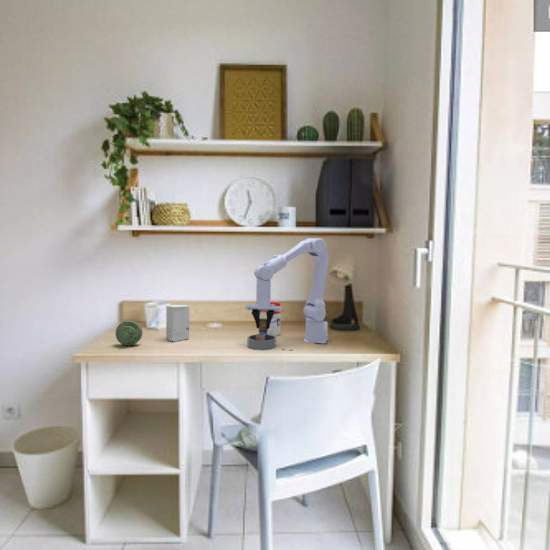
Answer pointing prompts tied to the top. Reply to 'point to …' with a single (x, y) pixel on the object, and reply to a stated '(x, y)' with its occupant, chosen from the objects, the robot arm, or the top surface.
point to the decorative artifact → (129, 332)
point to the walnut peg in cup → (260, 337)
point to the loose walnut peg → (263, 325)
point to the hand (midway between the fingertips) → (263, 328)
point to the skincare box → (177, 322)
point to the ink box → (272, 321)
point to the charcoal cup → (261, 342)
